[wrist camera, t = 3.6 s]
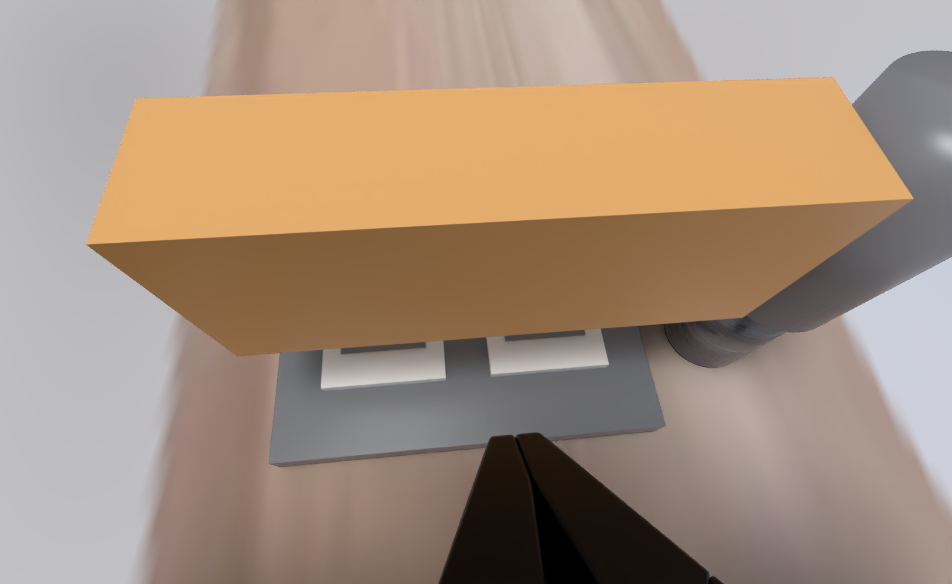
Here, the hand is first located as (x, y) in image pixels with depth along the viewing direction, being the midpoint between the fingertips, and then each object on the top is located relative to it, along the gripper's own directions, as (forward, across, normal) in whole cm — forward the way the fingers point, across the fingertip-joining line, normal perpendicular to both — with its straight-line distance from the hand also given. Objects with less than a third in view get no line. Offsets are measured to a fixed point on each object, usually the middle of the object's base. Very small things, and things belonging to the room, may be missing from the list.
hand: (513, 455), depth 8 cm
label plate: (+9, 0, +2) cm, 9 cm away
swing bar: (+6, -2, -1) cm, 6 cm away
